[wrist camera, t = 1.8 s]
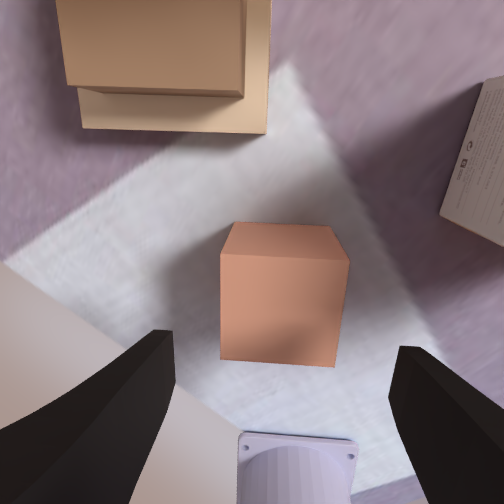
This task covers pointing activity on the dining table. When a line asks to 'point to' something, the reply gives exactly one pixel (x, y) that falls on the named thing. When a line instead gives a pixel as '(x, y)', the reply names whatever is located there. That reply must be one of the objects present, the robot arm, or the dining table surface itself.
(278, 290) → the terracotta cube
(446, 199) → the small box
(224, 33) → the walnut top slab
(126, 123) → the birch base slab
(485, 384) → the dining table surface
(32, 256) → the dining table surface
